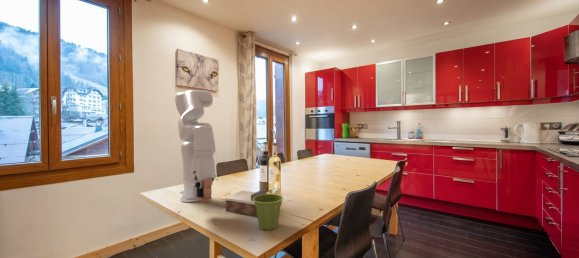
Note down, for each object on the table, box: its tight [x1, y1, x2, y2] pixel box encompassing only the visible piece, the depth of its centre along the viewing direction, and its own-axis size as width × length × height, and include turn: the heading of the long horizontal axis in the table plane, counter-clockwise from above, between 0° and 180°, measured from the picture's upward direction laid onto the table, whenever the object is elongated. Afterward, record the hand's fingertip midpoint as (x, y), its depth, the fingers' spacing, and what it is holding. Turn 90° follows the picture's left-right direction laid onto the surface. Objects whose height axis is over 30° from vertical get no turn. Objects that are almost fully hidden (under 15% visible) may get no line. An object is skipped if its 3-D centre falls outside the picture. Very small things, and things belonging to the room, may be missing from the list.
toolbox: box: [225, 199, 258, 218], centre depth 112 cm, size 18×13×5 cm
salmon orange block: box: [198, 177, 212, 202], centre depth 104 cm, size 4×4×10 cm
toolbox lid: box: [225, 188, 268, 205], centre depth 112 cm, size 18×13×4 cm
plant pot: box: [253, 193, 284, 231], centre depth 93 cm, size 12×12×11 cm
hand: (204, 195), depth 104 cm, fingers closed on salmon orange block, 4 cm apart
